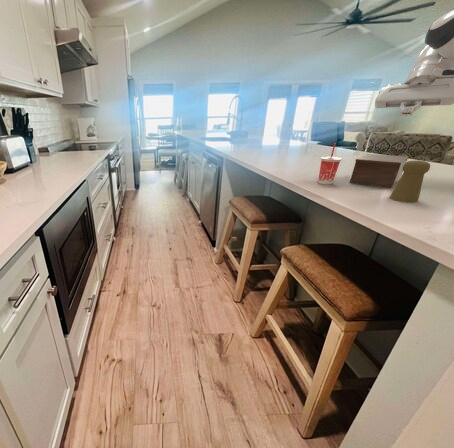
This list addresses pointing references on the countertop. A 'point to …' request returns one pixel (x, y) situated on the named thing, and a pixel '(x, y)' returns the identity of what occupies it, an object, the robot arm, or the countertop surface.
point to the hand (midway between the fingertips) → (406, 114)
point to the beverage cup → (328, 168)
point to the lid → (382, 159)
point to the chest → (377, 174)
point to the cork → (410, 181)
